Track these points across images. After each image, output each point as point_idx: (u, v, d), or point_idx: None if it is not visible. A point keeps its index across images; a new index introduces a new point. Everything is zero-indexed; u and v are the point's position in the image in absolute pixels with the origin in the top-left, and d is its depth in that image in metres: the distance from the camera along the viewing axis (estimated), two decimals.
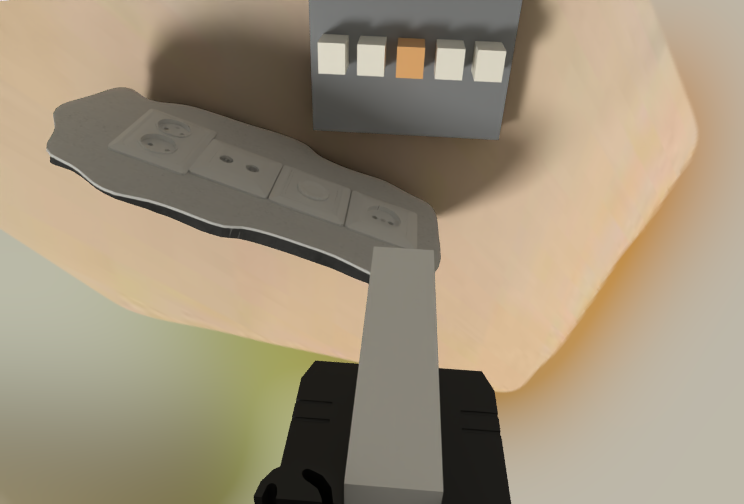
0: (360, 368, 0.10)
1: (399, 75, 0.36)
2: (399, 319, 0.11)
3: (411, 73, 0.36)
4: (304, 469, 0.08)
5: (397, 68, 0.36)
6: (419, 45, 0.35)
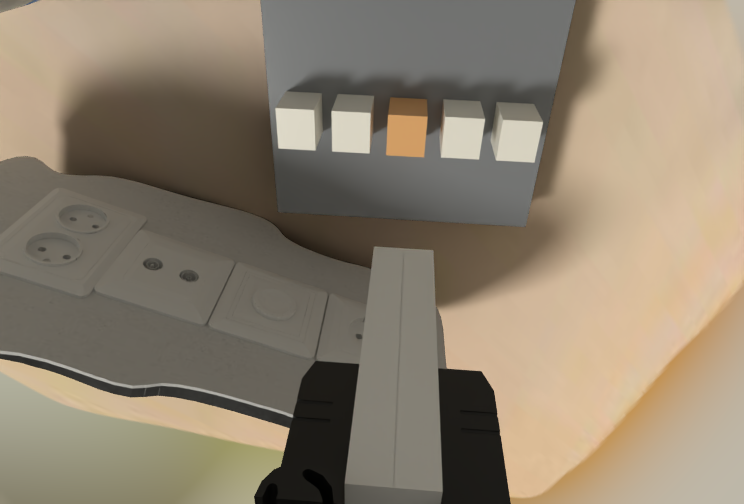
0: (360, 368, 0.10)
1: (391, 152, 0.26)
2: (398, 319, 0.11)
3: (407, 150, 0.26)
4: (305, 469, 0.08)
5: (388, 143, 0.25)
6: (419, 111, 0.25)
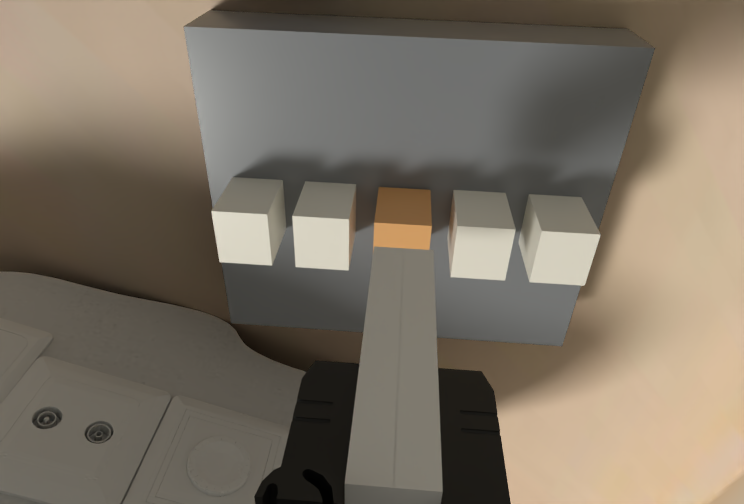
0: (360, 368, 0.10)
1: None
2: (399, 319, 0.11)
3: None
4: (305, 469, 0.08)
5: None
6: (419, 215, 0.17)
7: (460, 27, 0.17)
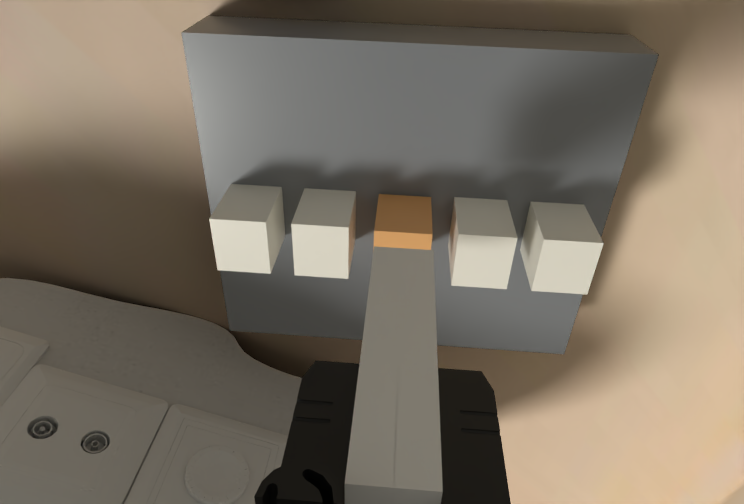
0: (360, 368, 0.10)
1: None
2: (399, 319, 0.11)
3: None
4: (305, 469, 0.08)
5: None
6: (420, 223, 0.17)
7: (461, 33, 0.17)
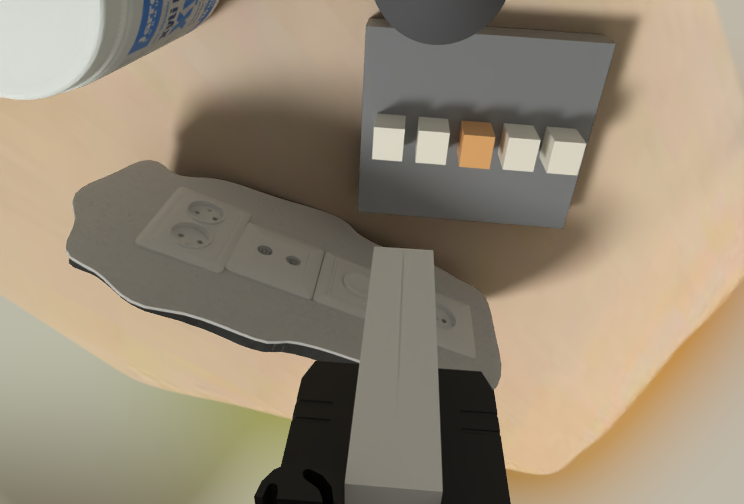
0: (360, 368, 0.10)
1: (463, 164, 0.32)
2: (399, 319, 0.11)
3: (476, 163, 0.32)
4: (305, 469, 0.08)
5: (462, 157, 0.32)
6: (487, 133, 0.32)
7: (511, 31, 0.32)
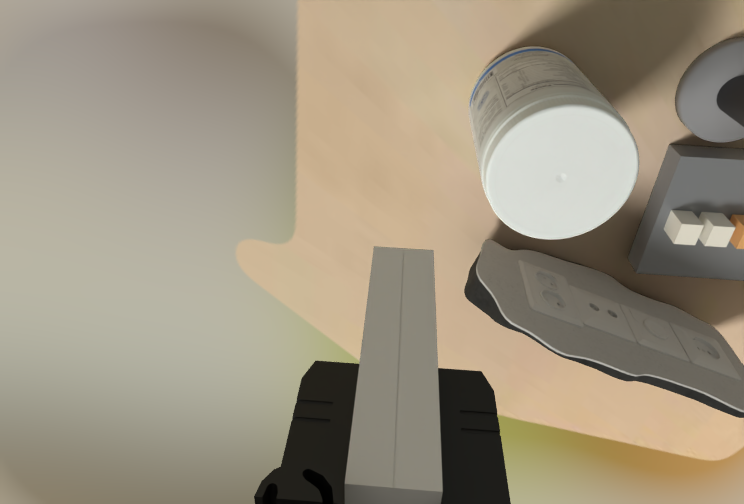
0: (360, 368, 0.10)
1: (739, 247, 0.46)
2: (399, 319, 0.11)
3: None
4: (305, 469, 0.08)
5: (740, 242, 0.46)
6: None
7: None
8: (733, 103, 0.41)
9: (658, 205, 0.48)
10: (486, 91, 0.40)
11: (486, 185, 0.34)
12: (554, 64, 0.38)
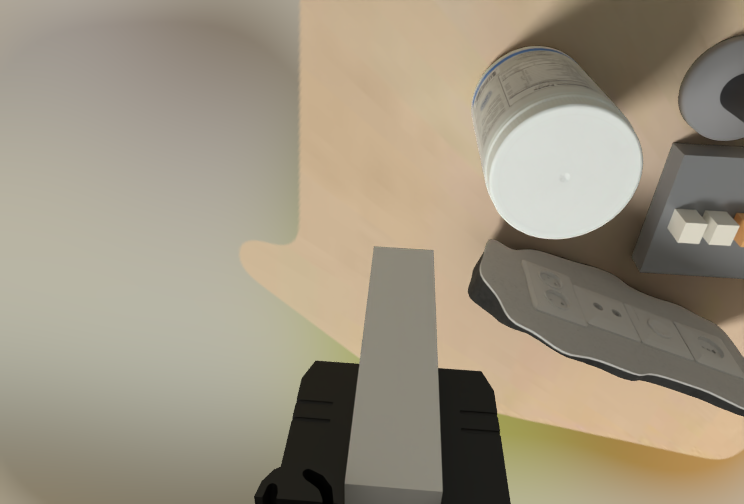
0: (360, 368, 0.10)
1: None
2: (398, 319, 0.11)
3: None
4: (305, 469, 0.08)
5: None
6: None
7: None
8: (736, 101, 0.41)
9: (662, 204, 0.48)
10: (489, 91, 0.40)
11: (490, 185, 0.34)
12: (557, 64, 0.38)
